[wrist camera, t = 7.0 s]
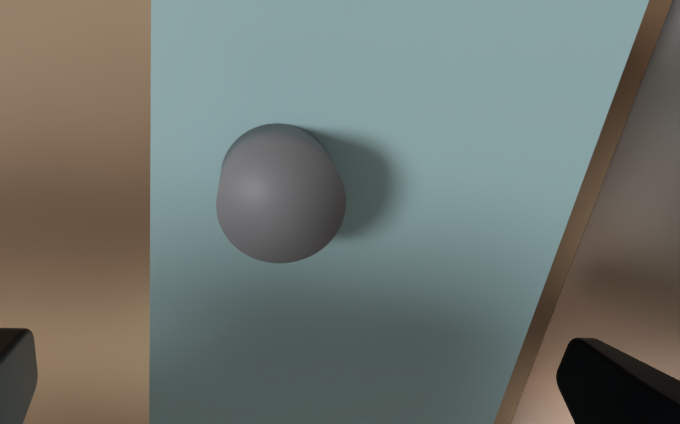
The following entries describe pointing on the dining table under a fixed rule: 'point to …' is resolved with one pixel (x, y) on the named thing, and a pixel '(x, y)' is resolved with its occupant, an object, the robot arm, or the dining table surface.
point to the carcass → (140, 202)
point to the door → (363, 199)
